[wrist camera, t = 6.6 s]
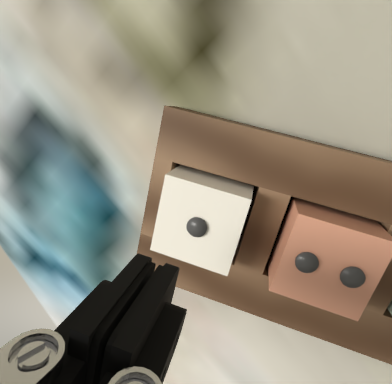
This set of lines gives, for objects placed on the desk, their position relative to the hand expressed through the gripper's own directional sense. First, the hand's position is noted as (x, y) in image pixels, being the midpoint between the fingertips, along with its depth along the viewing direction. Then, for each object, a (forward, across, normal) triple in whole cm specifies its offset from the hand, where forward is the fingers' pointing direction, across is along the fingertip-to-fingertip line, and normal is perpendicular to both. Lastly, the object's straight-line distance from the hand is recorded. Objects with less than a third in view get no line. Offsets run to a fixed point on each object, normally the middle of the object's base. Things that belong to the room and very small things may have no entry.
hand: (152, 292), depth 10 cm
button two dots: (+9, -8, 0) cm, 12 cm away
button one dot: (+9, 0, 0) cm, 9 cm away
